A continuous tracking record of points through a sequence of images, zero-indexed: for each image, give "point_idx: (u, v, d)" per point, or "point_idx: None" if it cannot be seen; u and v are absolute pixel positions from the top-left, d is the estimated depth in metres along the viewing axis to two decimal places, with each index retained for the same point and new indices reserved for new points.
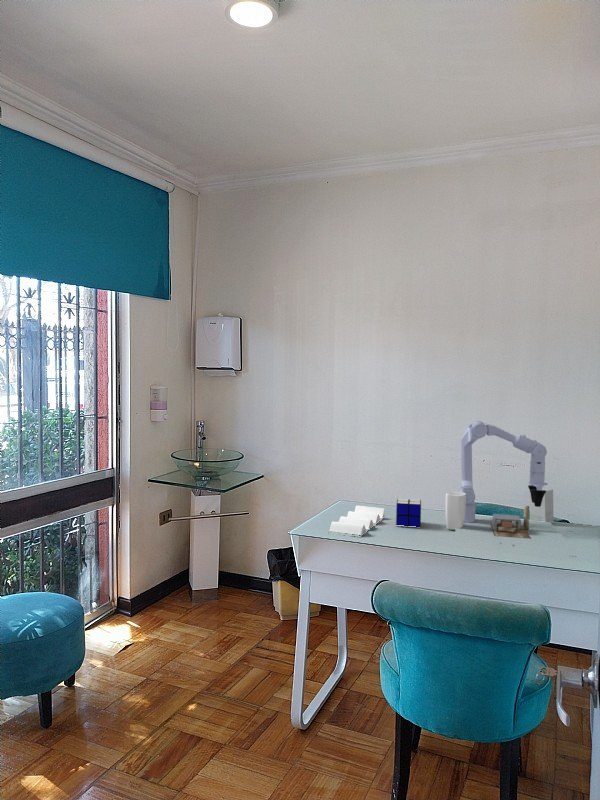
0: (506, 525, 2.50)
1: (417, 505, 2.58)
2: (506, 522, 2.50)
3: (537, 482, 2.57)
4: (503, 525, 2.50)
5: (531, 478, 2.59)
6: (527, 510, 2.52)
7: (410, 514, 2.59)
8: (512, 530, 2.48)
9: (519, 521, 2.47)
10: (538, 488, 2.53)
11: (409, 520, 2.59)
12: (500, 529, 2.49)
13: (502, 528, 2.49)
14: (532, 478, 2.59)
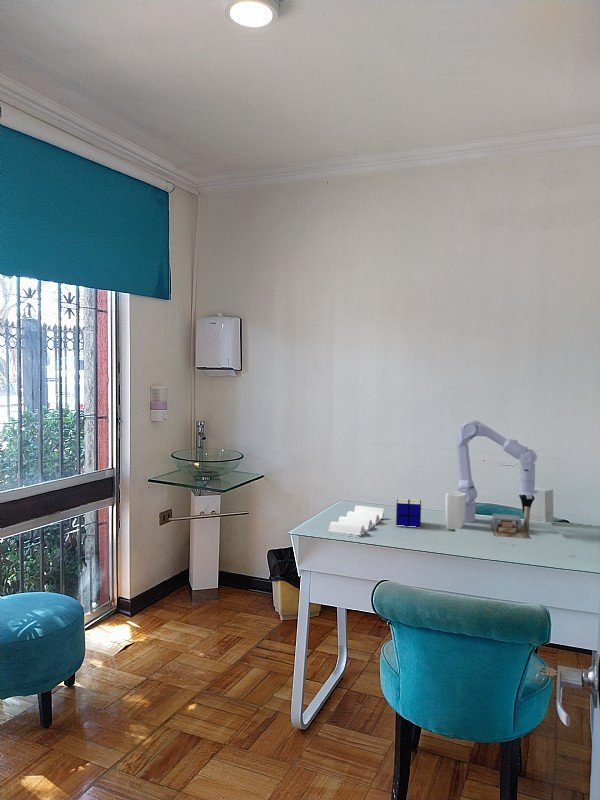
0: (506, 526, 2.49)
1: (417, 505, 2.58)
2: (506, 523, 2.49)
3: (527, 490, 2.51)
4: (503, 526, 2.49)
5: (520, 486, 2.53)
6: (527, 510, 2.50)
7: (410, 514, 2.59)
8: (512, 531, 2.47)
9: (519, 521, 2.47)
10: (528, 497, 2.46)
11: (409, 520, 2.59)
12: (500, 530, 2.48)
13: (502, 529, 2.47)
14: (522, 486, 2.52)
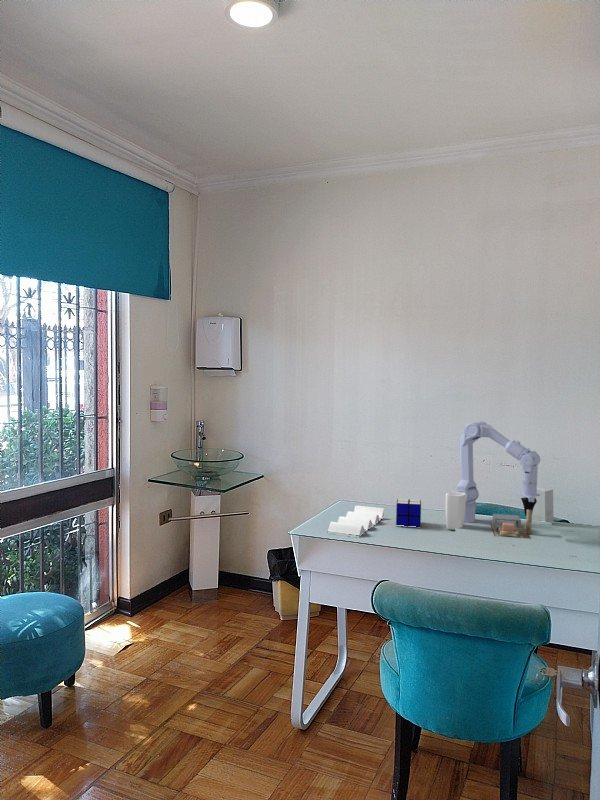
0: (508, 529, 2.43)
1: (417, 505, 2.58)
2: (508, 526, 2.43)
3: (529, 493, 2.45)
4: (505, 529, 2.44)
5: (522, 489, 2.47)
6: (529, 514, 2.45)
7: (410, 514, 2.59)
8: (514, 535, 2.41)
9: (519, 521, 2.47)
10: (530, 499, 2.41)
11: (409, 520, 2.59)
12: (502, 534, 2.42)
13: (504, 533, 2.42)
14: (524, 488, 2.46)
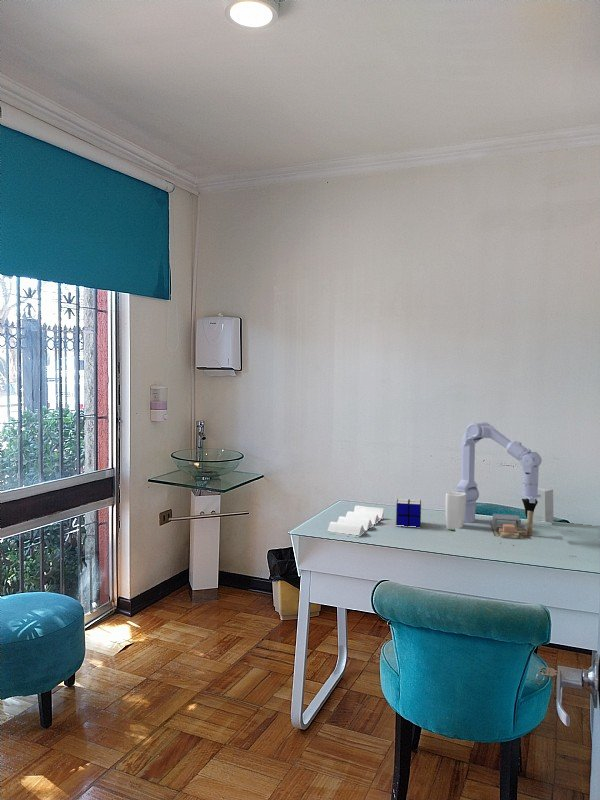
0: (509, 531, 2.41)
1: (417, 505, 2.58)
2: (509, 527, 2.41)
3: (530, 494, 2.43)
4: (505, 531, 2.41)
5: (523, 490, 2.45)
6: (530, 515, 2.43)
7: (410, 514, 2.59)
8: (515, 536, 2.39)
9: (519, 521, 2.47)
10: (531, 501, 2.39)
11: (409, 520, 2.59)
12: (502, 535, 2.40)
13: (505, 534, 2.40)
14: (524, 489, 2.44)
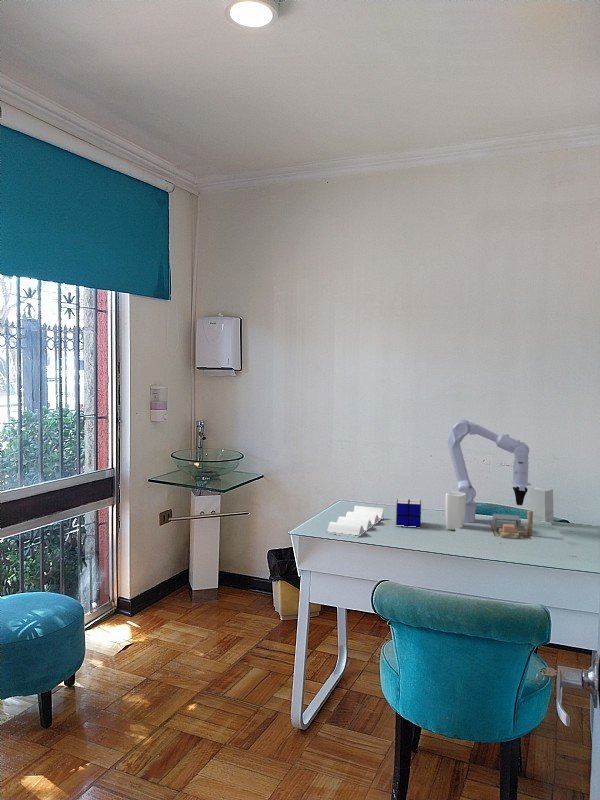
0: (509, 531, 2.41)
1: (417, 505, 2.58)
2: (509, 527, 2.41)
3: (520, 482, 2.55)
4: (505, 531, 2.41)
5: (514, 478, 2.57)
6: (530, 515, 2.43)
7: (410, 514, 2.59)
8: (515, 536, 2.39)
9: (519, 521, 2.47)
10: (521, 488, 2.51)
11: (409, 520, 2.59)
12: (502, 535, 2.40)
13: (505, 534, 2.40)
14: (515, 478, 2.56)
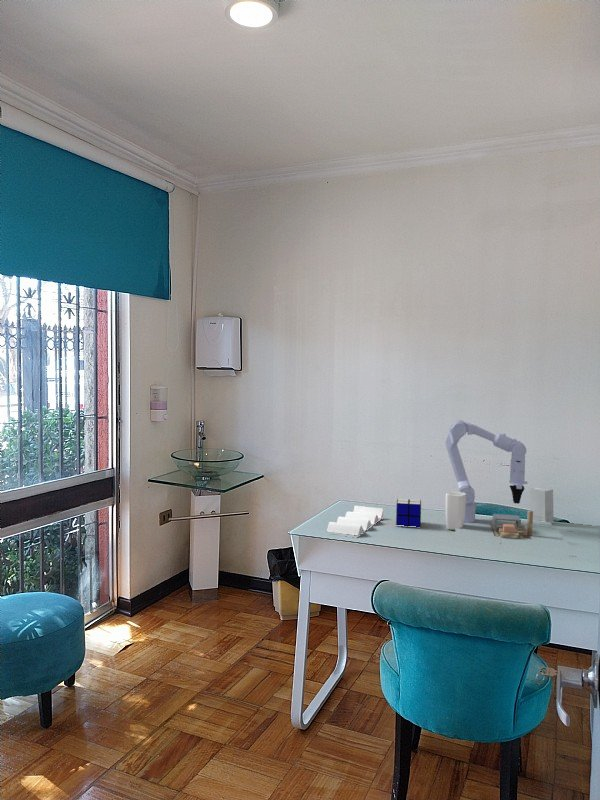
0: (509, 531, 2.41)
1: (417, 505, 2.58)
2: (509, 527, 2.41)
3: (517, 481, 2.58)
4: (505, 531, 2.41)
5: (511, 477, 2.60)
6: (530, 515, 2.43)
7: (410, 514, 2.59)
8: (515, 536, 2.39)
9: (519, 521, 2.47)
10: (518, 487, 2.54)
11: (409, 520, 2.59)
12: (502, 535, 2.40)
13: (505, 534, 2.40)
14: (512, 476, 2.59)
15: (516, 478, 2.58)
